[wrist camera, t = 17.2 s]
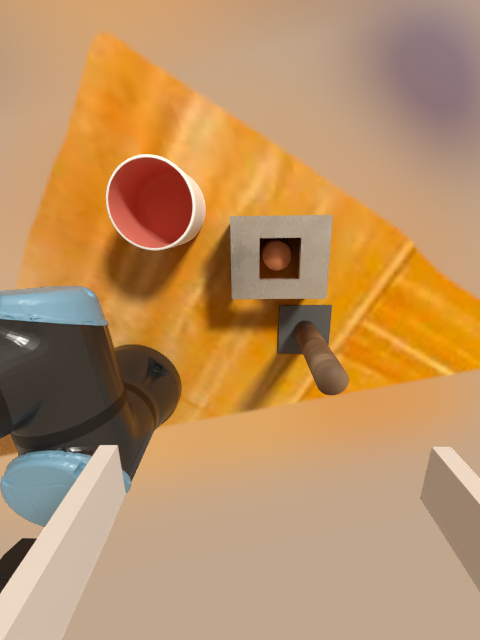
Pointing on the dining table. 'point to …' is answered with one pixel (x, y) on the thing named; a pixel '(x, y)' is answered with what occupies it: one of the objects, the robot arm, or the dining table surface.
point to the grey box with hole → (311, 256)
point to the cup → (154, 203)
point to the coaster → (296, 314)
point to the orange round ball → (276, 255)
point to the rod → (320, 359)
